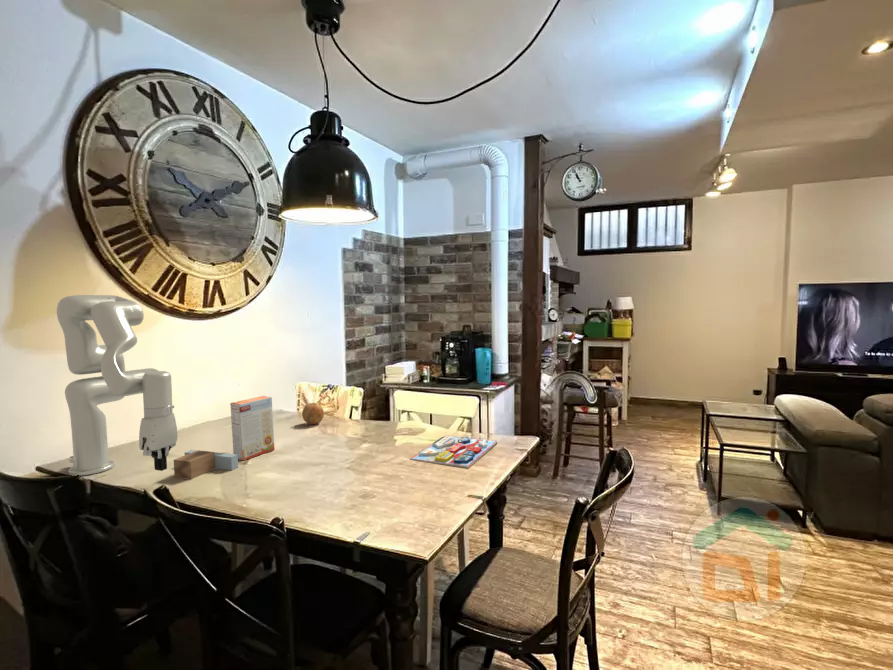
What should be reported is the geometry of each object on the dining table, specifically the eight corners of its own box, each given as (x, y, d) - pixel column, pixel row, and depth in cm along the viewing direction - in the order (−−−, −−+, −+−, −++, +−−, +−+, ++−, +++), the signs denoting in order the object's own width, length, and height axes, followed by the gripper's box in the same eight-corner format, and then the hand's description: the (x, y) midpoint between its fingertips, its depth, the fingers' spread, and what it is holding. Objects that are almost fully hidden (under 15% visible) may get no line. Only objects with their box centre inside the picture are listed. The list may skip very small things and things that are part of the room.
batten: (185, 464, 165) (184, 452, 164) (192, 462, 167) (191, 449, 167) (231, 470, 159) (231, 457, 158) (238, 467, 162) (237, 454, 161)
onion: (326, 421, 223) (325, 400, 222) (321, 426, 213) (321, 404, 213) (305, 421, 223) (304, 400, 222) (300, 427, 213) (299, 405, 212)
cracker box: (265, 448, 183) (262, 395, 181) (275, 450, 180) (273, 396, 178) (232, 458, 171) (229, 402, 169) (242, 461, 168) (239, 403, 166)
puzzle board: (445, 438, 195) (445, 432, 195) (497, 444, 185) (497, 438, 185) (409, 461, 167) (409, 454, 167) (468, 470, 158) (468, 462, 157)
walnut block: (174, 477, 153) (173, 459, 153) (199, 467, 163) (198, 450, 162) (191, 479, 151) (190, 461, 151) (215, 469, 161) (214, 452, 160)
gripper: (169, 405, 152) (171, 460, 154) (126, 416, 138) (129, 476, 140) (187, 407, 150) (189, 462, 152) (145, 418, 136) (148, 479, 137)
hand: (160, 469), depth 146 cm, fingers closed
